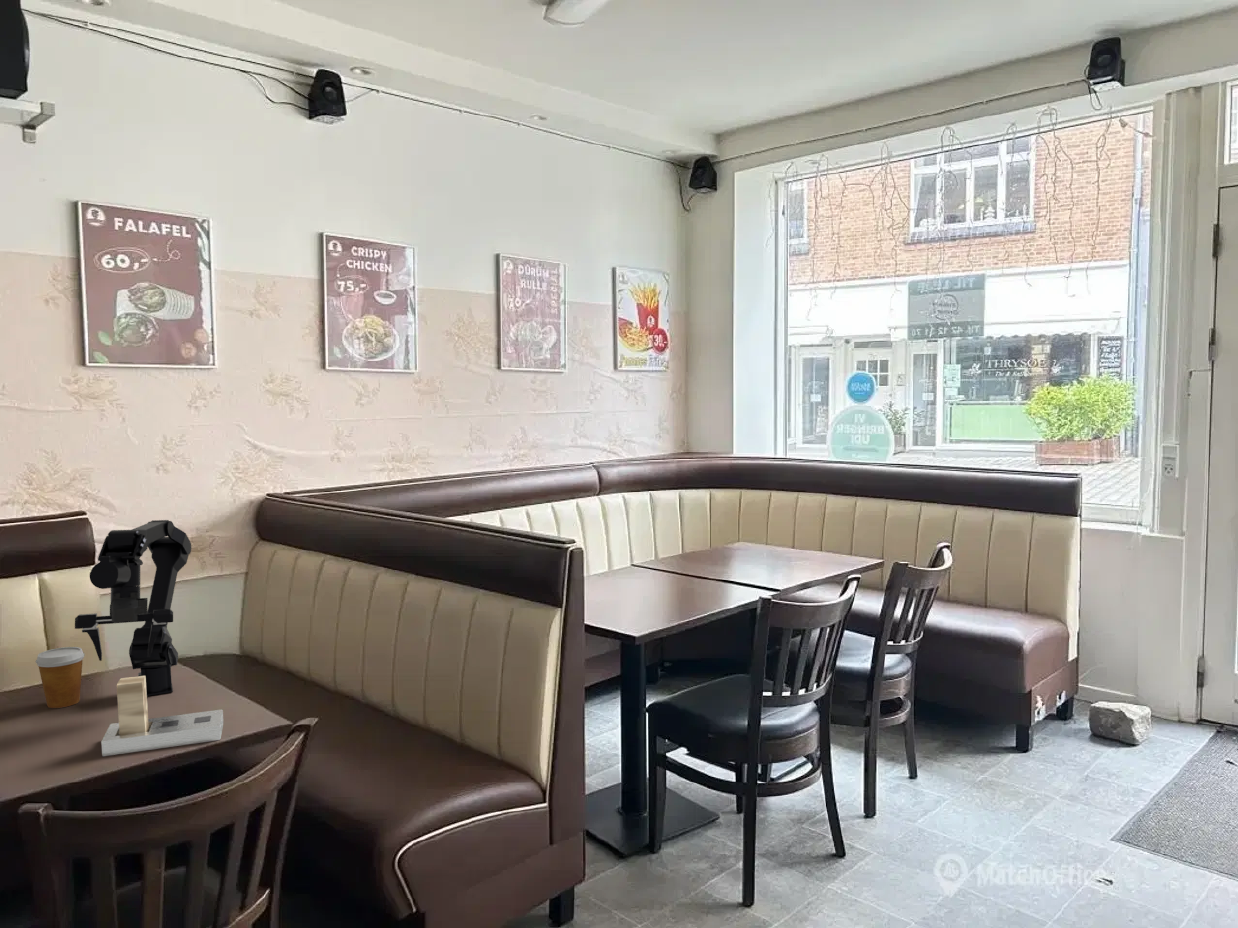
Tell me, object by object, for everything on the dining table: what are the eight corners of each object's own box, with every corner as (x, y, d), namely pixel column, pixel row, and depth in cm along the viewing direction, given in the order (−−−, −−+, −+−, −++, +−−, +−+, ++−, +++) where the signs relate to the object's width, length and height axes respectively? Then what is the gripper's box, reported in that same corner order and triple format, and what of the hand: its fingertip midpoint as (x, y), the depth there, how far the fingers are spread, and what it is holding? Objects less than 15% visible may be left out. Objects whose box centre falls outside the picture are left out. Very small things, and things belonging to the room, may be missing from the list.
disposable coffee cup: (93, 702, 203) (90, 651, 203) (45, 713, 197) (41, 660, 196) (80, 693, 210) (77, 643, 209) (33, 704, 203) (29, 652, 202)
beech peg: (124, 740, 180) (120, 678, 179) (149, 737, 182) (145, 675, 181) (120, 749, 176) (116, 685, 175) (146, 745, 178) (142, 682, 176)
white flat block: (223, 722, 189) (222, 708, 189) (220, 739, 180) (219, 724, 180) (111, 737, 182) (110, 723, 182) (102, 756, 172) (101, 740, 172)
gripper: (73, 590, 184) (72, 666, 183) (174, 585, 193) (173, 657, 191) (76, 588, 194) (76, 661, 192) (172, 583, 203) (172, 653, 201)
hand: (124, 658), depth 194 cm, fingers open, 9 cm apart
